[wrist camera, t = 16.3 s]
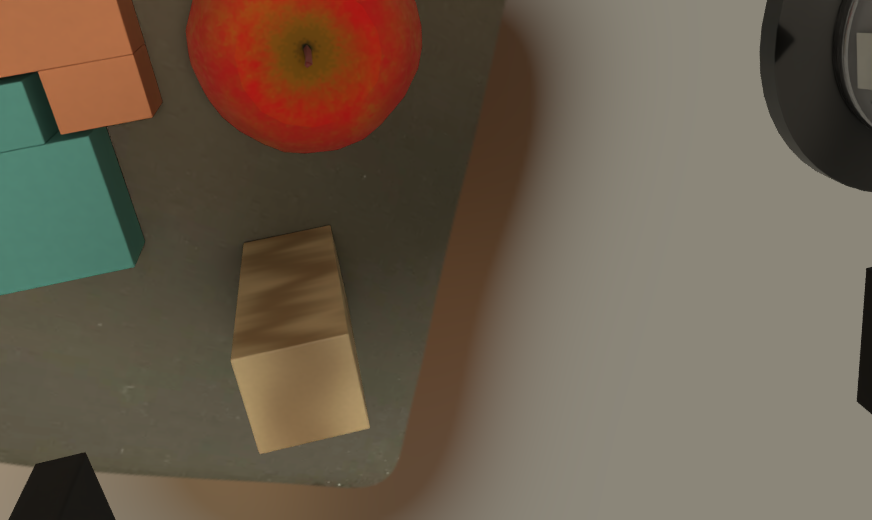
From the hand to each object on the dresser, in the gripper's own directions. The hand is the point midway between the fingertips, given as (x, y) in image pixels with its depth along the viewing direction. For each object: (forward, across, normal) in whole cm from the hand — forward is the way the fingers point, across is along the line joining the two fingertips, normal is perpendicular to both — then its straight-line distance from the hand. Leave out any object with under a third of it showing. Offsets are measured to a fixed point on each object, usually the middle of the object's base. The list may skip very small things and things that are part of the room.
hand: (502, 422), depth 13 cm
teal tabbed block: (+31, -17, -1) cm, 35 cm away
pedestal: (+31, -6, -10) cm, 34 cm away
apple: (+32, -2, +3) cm, 32 cm away
